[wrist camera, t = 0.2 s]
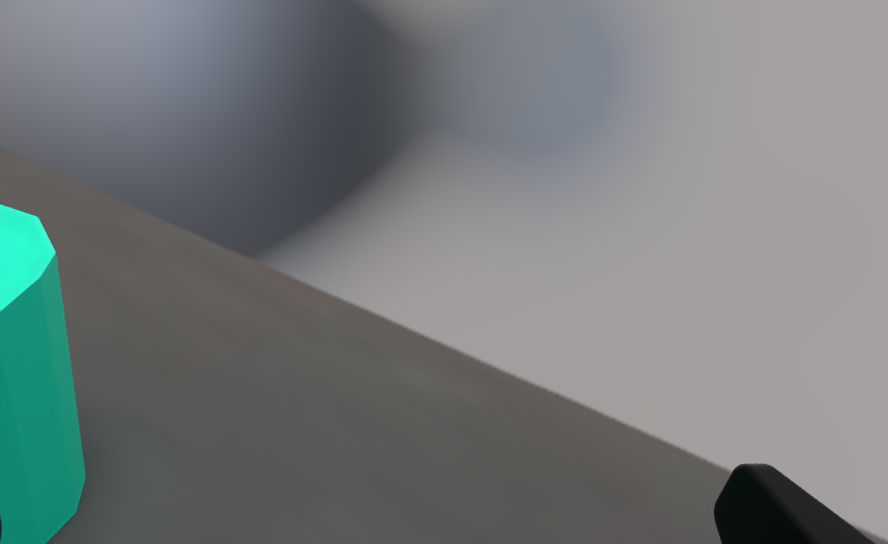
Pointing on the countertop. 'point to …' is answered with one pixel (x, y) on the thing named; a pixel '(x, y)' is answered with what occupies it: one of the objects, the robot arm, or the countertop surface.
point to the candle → (35, 389)
